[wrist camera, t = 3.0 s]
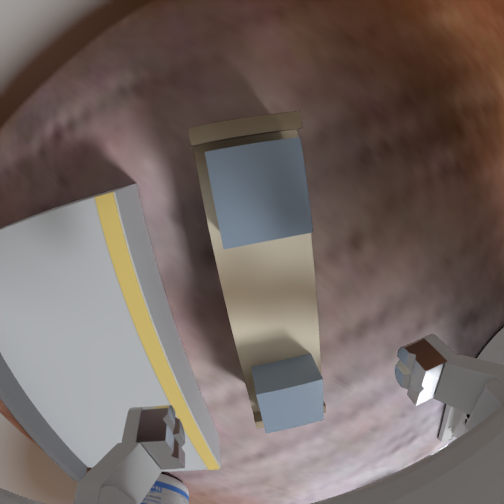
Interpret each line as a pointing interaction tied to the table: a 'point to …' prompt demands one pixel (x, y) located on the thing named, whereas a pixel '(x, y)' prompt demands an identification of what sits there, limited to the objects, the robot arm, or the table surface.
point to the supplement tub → (167, 492)
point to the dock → (92, 333)
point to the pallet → (261, 264)
